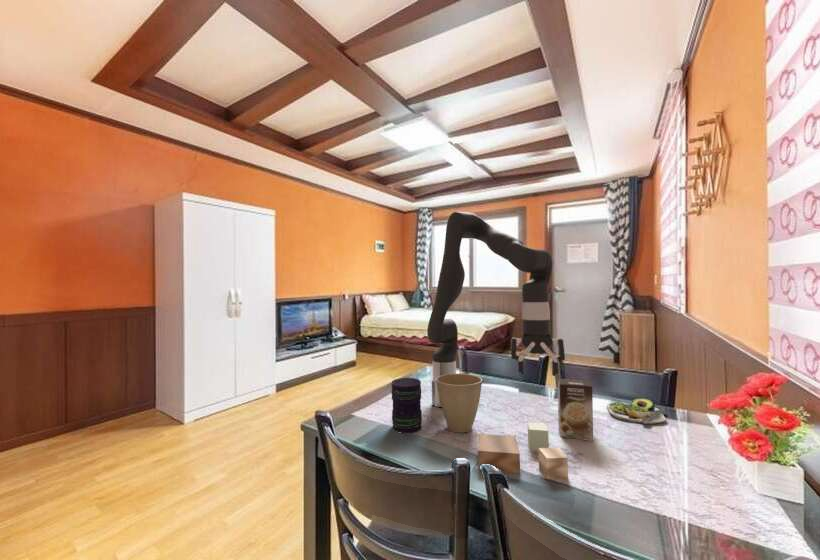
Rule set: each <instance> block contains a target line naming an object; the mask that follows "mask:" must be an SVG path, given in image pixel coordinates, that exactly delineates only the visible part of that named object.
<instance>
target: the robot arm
mask: <svg viewBox="0 0 820 560" xmlns="http://www.w3.org/2000/svg"><path fill="white" fill-rule="evenodd" d="M444 237H445V239H444V247H443V248H444V250H443V257H442V262H441V267H440V272H439V277H438V282H437V288H436V294H435V299H434V304H433V307H432V310H431V314H430V317H429V321H428V325H427V330H426V333H427V339H428V341H429V342H430V343H431V344H434V345H435V344H441V346H440V347H439V348H438V349H437V350H435V351H434V352H433V353H432V355H431V356H432V357H431V358H432V359H431V362H432V363H431V365H432V380H431V406H432V405H436V406H439V407H441V403H440V399H439V395H438V389H437V383H436V378H437V377H439V376H441V375H446V374H457V354H458V337H459V336H458V335H459V333H458V332H459V331H458V326H457V323H456V321H454V320H453V319H452V318H446V314H447V313H448V311H449V309H450V308H451V307H452V306H453V304H454V303H455V302H456V301H457V299H458V298H459V296H460V295H461V293H462V291H463V288H464V287H463V286H464V283H465V275H466V273H465V269H464V265H463V261H462V259H461V255H460V253H461V244H462V240H463V239H474V240H478V241H481V242H483V243H484V244H486V246H487V247H488V249H489V250H490V251H491V252H492V253H494V254H495V255H498V256H499V257H501V258H503V259H505V260H507V261H508V262H509V263H510V264H511V265H512V266H513V267H514V268H516V269H518V271H520V272H523V273H527V274H529V279H528V281H526V282H524V283H523V284H522V289H521V290H522V291H521V293H522V295H521V296H522V306H521V307H522V308H521V323H522V324H521V326H522V327H521V328H522V337H521V338H517V337H511V343H510V344H511V345H510V346H511V347H510V351H511V352H510V356H511V359H512V360H515V361H517V370H518V372H519V373H520V375H524V374H525V373H524V370H525V369H524V359H525V357H526V356H528V355H529V353H530V354H532V355H533V354H540V355H544V354H545V353H546V354H547V355H548V356H549V357H550V358H551V361H550V362H551V363H550V364H551V365H550V366H551V376H553V377H555V376H556V374H557V375H558V373H559V367H558V366H559V362H561V361H565V359H566V356H565V345H564V340H563V339H562V338H561V337H558V338H552V336H551V311H550V310H551V309H550V305H549V303H550V302H549V283H550V282H551V275H552V270H553V259H552V255H551V254H550V252H549V251H547V250H546V249H542V248H531V247H529V246H526V245H525V244H524V243H523V241H521V240H519V238H515V237H514V236H512V235H510V234H508V233H506V232H503V231H500V230H499V229H497V228H495V227H494V226H493V225H490V223H488V222H486V221H485V220H484V219H482V218H481V217H480V216H478V215H477V214H475V213H473V212H466V211H453V212H452V213H451V214H450V215H449V217H448V220H447V222H446V229H445V236H444ZM520 343H521V345H523V346H524V348H523V349H522V350H521V352H520V353H519V354H517V347H518V346H519V345H520ZM553 344H554V346H556V347H557V354H558V355H556V356H555V354H554V353H553V352H552V350H551V349H550V347H551V346H552V345H553ZM436 406H435V407H436ZM439 407H438V408H439Z"/></svg>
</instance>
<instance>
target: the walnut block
mask: <svg viewBox="0 0 820 560" xmlns="http://www.w3.org/2000/svg"><path fill="white" fill-rule="evenodd" d="M477 437H478V438H477V439H478V440H477V441H478V444H477V454H478V455H477V458H478V459H477V461H478V470H479V469H480V466H481V465H482V464H490V465H493V466H495V467H496V468H498V469H499V470H501V471H503V472H502V473H514V474H521V460H520V459H521V458H520V457H521V454H520V450H519V444H518V441H517V436H516V435H506V434H490V433H489V434H488V433H487V434H486V433H477Z"/></svg>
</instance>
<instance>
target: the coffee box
mask: <svg viewBox="0 0 820 560" xmlns="http://www.w3.org/2000/svg"><path fill="white" fill-rule="evenodd" d="M557 401H558V402H557V406H558V407H557V411H558V412H557V413H558V415H557V417H558V418H557V419H558V433H559V437H561V438H569V439H576V440H582V441H583V440H584V441H592V442H593V441H594V416H593V415H594V413H593V411H594V409H593V408H594V407H593V406H594V405H593V386H592V384H591V382H589V380H581V379H580V380H578V379H567V378H557Z"/></svg>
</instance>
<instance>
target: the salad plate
mask: <svg viewBox="0 0 820 560" xmlns="http://www.w3.org/2000/svg"><path fill="white" fill-rule="evenodd" d="M606 409H607V410H608V412H609V414H610V415H612V417H614V418H616V419H619V420H621V421H623V422H624V421H626V422H629V423H636V424H642V425H643V424H644V425H651V424H658V423H664V422H665V421H666V416H664V413H665V412H666V409H664V408H657V407H656V406H655V403H654V402H653V401H652V400H650V399H648V398H635V399H633V400H631V402H630V403H627V402H622V401H621V402H620V401H613V402H608V403H607V404H606ZM617 413H618V414H617ZM619 414H621V415H625V416H628V417H625V416H621V415H619Z"/></svg>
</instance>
